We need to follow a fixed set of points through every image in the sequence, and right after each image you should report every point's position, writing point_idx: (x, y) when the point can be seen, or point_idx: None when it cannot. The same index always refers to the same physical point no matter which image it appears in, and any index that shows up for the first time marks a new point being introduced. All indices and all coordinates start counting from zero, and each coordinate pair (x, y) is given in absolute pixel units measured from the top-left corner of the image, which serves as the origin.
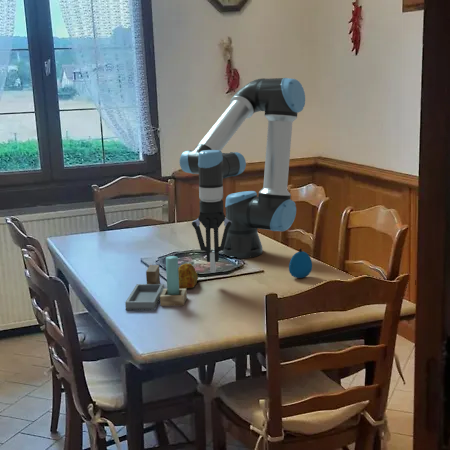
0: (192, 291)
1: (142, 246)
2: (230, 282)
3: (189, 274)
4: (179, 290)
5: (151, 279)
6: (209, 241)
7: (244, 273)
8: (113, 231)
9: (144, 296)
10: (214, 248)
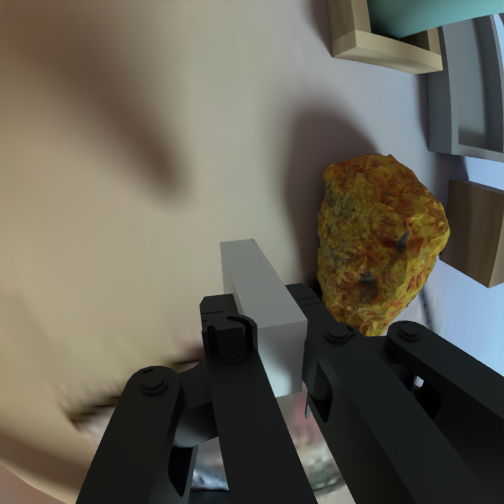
0: (321, 146)
1: None
2: (148, 300)
3: (381, 187)
4: (381, 37)
5: (488, 188)
6: (381, 436)
7: None
8: None
9: (469, 85)
10: (263, 374)
